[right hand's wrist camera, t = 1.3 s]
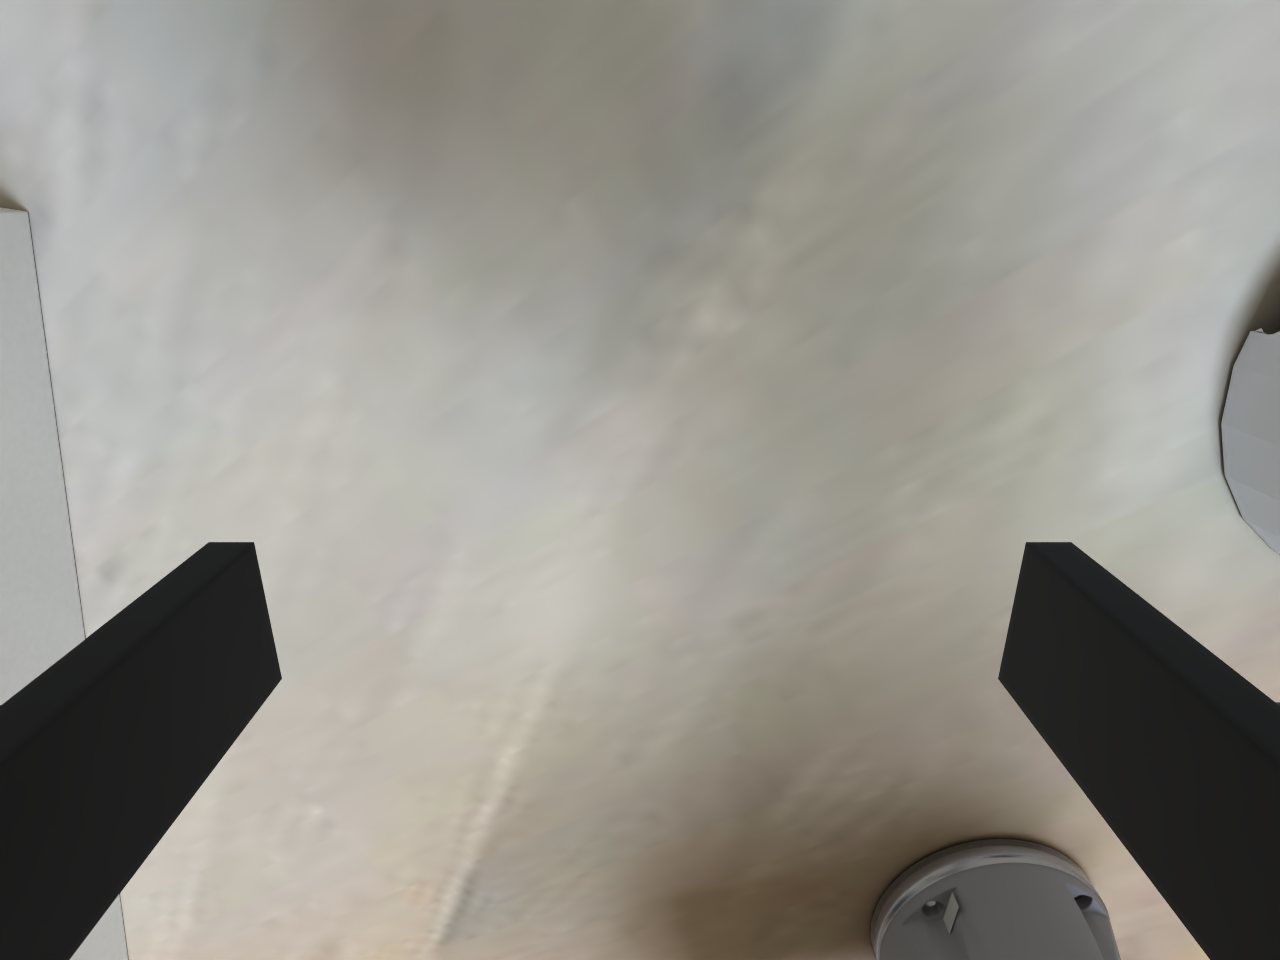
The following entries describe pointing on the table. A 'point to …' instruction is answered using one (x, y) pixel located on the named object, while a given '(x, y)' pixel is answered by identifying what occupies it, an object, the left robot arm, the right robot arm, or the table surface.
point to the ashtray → (1255, 435)
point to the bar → (35, 512)
